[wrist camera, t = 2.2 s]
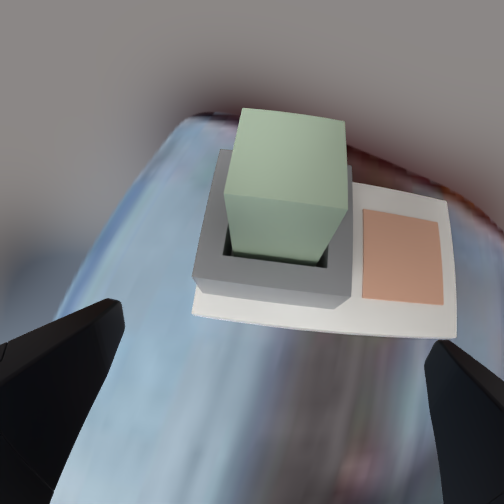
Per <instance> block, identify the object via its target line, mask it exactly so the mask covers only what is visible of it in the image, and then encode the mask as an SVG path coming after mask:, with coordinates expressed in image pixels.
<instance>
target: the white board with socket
mask: <svg viewBox="0 0 504 504" xmlns="http://www.w3.org/2000/svg"><path fill="white" fill-rule="evenodd" d="M232 152H233V150H225V149H220V152H219V156H218V160H217V164H216V168H215V172H214V176H213V180H212V185H211V189H210V193H209V198H208V202H207V206H206V211H205V215H204V220H203V225H202V229H201V234H200V239H199V243H198V248H197V253H196V258H195V263H194V268H193V273H192V278H193V280H194V281H195V283H196V284H197V286H196V292H195V297H194V303H193V308H192V314H193V315H194V316H199V317H205V318H212V319H218V320H225V321H232V322H239V323H247V324H254V325H262V326H270V327H278V328H287V329H296V330H306V331H316V332H326V333H338V334H350V335H364V336H379V337H397V338H422V339H453V338H457V303H456V280H455V265H454V254H453V244H452V236H451V228H450V220H449V214H448V207H447V201H444V200H439V199H435V198H431V197H426V196H422V195H417V194H413V193H408V192H403V191H398V190H393V189H388V188H383V187H378V186H372V185H367V184H361V183H356V182H352V166H350V165H347V179H348V210H347V212H346V214H345V216H344V218H343V219H342V221H341V223H340V225H339V226H338V228H337V230H336V232H335V233H334V235H333V237H332V239H331V240H330V242H329V244H328V245H327V247H326V249H325V251H324V252H323V254H322V256H321V257H320V259H319V261H318V262H317V264H316V266H315V267H312V266H304V265H296V264H288V263H280V262H272V261H264V260H256V259H248V258H240V257H234V255H233V249H232V243H231V236H230V230H229V224H228V218H227V212H226V206H225V200H224V189H225V184H226V180H227V175H228V170H229V166H230V161H231V156H232Z"/></svg>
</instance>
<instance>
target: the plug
mask: <svg viewBox="0 0 504 504" xmlns="http://www.w3.org/2000/svg"><path fill="white" fill-rule="evenodd" d="M224 200H225V206H226V212H227V218H228V224H229V230H230V236H231V243H232V249H233V255H234V257H240V258H248V259H256V260H264V261H272V262H280V263H288V264H296V265H304V266H312V267H315V266H316V264H317V262H318V261H319V259H320V257H321V256H322V254H323V252H324V251H325V249H326V247H327V245H328V244H329V242H330V240H331V239H332V237H333V235H334V233H335V232H336V230H337V228H338V226H339V225H340V223H341V221H342V219H343V218H344V216H345V214H346V212H347V210H348V179H347V151H346V133H345V122H344V121H340V120H334V119H329V118H322V117H316V116H309V115H302V114H295V113H287V112H279V111H270V110H259V109H248V108H243V109H242V112H241V117H240V121H239V125H238V130H237V134H236V138H235V143H234V147H233V152H232V156H231V161H230V166H229V170H228V175H227V180H226V184H225V189H224Z"/></svg>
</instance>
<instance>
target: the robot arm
mask: <svg viewBox="0 0 504 504" xmlns="http://www.w3.org/2000/svg"><path fill="white" fill-rule="evenodd" d="M124 329H125V322H124V316H123V309H122V304H121V302H120V301H118V300H114V299H110V298H106V299H104V300H102V301H99V302H97V303H95V304H92V305H90V306H88V307H85V308H83V309H81V310H78V311H76V312H74V313H72V314H69V315H67V316H65V317H62V318H60V319H58V320H56V321H53V322H51V323H49V324H46V325H44V326H42V327H40V328H37V329H35V330H33V331H31V332H28V333H26V334H24V335H22V336H20V337H17V338H15V339H13V340H11V341H9V342H8V343H7V342H6V343H4V344H1V345H0V504H50V501H51V498H52V496H53V493H54V491H53V490H55V488H56V485H57V483H58V481H59V478H60V476H61V473H62V471H63V469H64V466H65V464H66V462H67V459H68V457H69V455H70V452H71V450H72V448H73V446H74V443H75V441H76V439H77V437H78V435H79V432H80V430H81V428H82V426H83V424H84V422H85V420H86V417H87V415H88V413H89V411H90V409H91V407H92V405H93V403H94V401H95V399H96V397H97V395H98V393H99V391H100V389H101V387H102V385H103V383H104V381H105V379H106V377H107V374H108V372H109V369H110V367H111V364H112V362H113V359H114V356H115V354H116V351H117V348H118V346H119V343H120V341H121V338H122V336H123V333H124ZM424 370H425V377H426V384H427V392H428V401H429V409H430V415H431V420H432V425H433V431H434V436H435V442H436V448H437V454H438V460H439V467H440V475H441V483H442V492H443V502H444V504H504V381H503V380H501V379H500V378H499V377H498V376H496V375H495V374H494V373H492V372H491V371H490V370H488V369H487V368H486V367H484V366H483V365H482V364H481V363H479V362H478V361H477V360H475V359H474V358H473V357H471V356H470V355H469V354H467V353H466V352H465V351H463V350H462V349H461V348H459V347H458V346H456V345H455V344H454V343H452V342H451V341H450V340H437V341H436V342H435V343H434V345H433V347H432V349H431V351H430V353H429V355H428V357H427V359H426V361H425V365H424Z"/></svg>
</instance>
